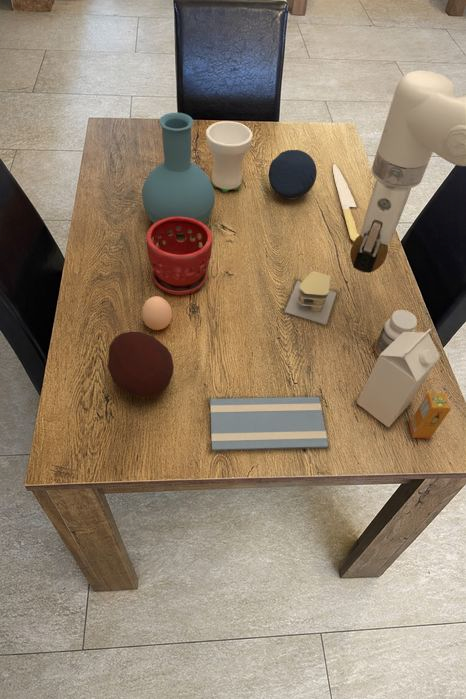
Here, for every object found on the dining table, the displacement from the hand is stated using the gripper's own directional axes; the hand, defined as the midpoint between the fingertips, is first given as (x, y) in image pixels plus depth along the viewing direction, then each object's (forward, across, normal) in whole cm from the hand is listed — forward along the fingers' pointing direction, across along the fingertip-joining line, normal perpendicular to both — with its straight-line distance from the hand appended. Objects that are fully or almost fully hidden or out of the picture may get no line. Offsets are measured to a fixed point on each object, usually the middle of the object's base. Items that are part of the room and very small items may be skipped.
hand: (367, 256), depth 88 cm
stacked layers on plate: (+19, +4, +8) cm, 21 cm away
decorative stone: (+19, +37, +26) cm, 49 cm away
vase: (+19, +14, +45) cm, 51 cm away
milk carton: (+20, -15, -12) cm, 27 cm away
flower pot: (+19, -3, +36) cm, 41 cm away
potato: (+19, -30, +30) cm, 46 cm away
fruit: (+3, 0, 0) cm, 3 cm away
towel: (+19, -28, +6) cm, 34 cm away
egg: (+19, -17, +34) cm, 42 cm away
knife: (+19, +42, +11) cm, 47 cm away
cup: (+19, +33, +42) cm, 56 cm away
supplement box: (+20, -17, -19) cm, 32 cm away
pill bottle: (+20, -2, -10) cm, 22 cm away
